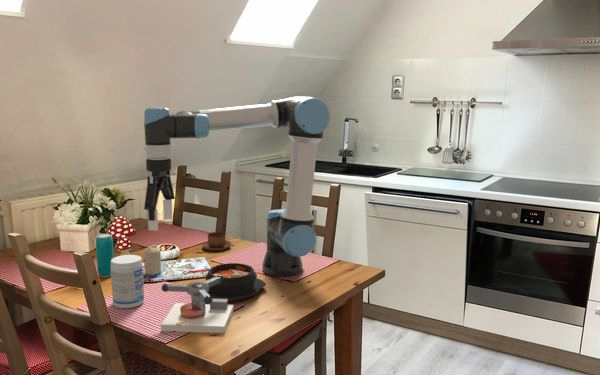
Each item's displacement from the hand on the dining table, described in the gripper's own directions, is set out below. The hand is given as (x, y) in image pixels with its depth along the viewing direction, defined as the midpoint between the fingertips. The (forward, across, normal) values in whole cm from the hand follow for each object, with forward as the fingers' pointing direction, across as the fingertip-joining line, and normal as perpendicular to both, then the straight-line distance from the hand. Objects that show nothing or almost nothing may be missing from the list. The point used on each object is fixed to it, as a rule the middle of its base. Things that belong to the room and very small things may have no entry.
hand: (161, 224), depth 170 cm
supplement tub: (+25, +6, -10) cm, 27 cm away
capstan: (+22, +16, +14) cm, 30 cm away
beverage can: (+25, -18, -27) cm, 41 cm away
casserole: (+25, -6, +21) cm, 33 cm away
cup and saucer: (+25, -55, +4) cm, 61 cm away
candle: (+25, -22, -12) cm, 35 cm away
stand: (+24, +16, +16) cm, 33 cm away
